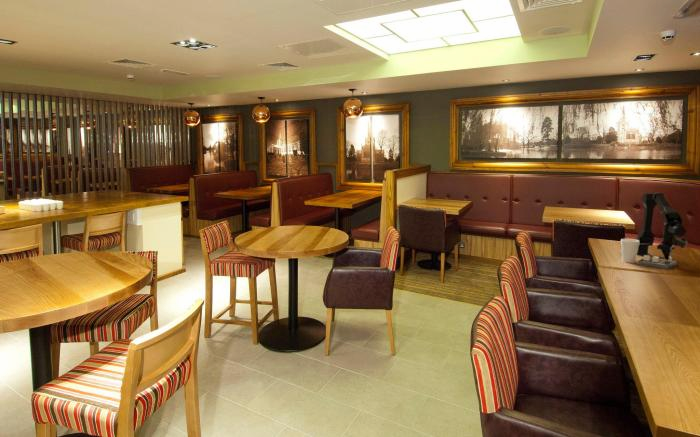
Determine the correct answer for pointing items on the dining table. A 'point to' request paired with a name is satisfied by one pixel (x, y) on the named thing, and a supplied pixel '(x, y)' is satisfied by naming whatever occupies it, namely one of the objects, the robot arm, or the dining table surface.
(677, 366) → the dining table surface
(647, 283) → the dining table surface
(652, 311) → the dining table surface
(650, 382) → the dining table surface
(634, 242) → the foam cup
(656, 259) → the breaker middle
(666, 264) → the breaker panel
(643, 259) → the breaker
